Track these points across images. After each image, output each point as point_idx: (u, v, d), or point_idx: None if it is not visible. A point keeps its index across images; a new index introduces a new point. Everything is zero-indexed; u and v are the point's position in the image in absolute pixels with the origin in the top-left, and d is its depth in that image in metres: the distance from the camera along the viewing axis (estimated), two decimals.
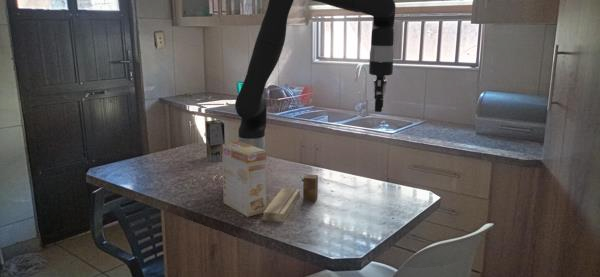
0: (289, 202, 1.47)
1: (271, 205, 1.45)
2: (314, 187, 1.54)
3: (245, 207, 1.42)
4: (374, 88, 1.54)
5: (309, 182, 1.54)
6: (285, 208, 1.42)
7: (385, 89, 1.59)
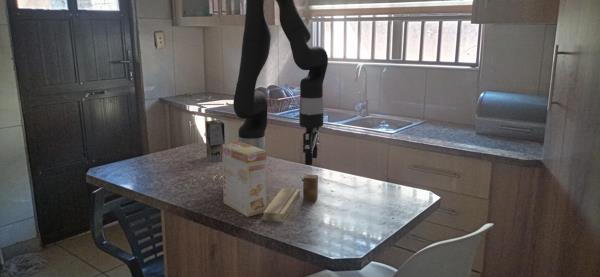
0: (289, 202, 1.47)
1: (271, 205, 1.45)
2: (314, 187, 1.54)
3: (245, 207, 1.42)
4: None
5: (309, 182, 1.54)
6: (285, 208, 1.42)
7: (318, 140, 1.55)
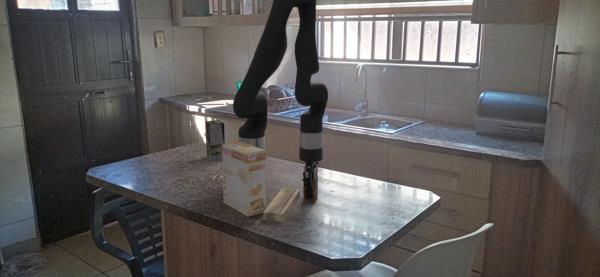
0: (289, 202, 1.47)
1: (271, 205, 1.45)
2: (314, 187, 1.54)
3: (245, 207, 1.42)
4: None
5: None
6: (285, 208, 1.42)
7: (316, 174, 1.56)
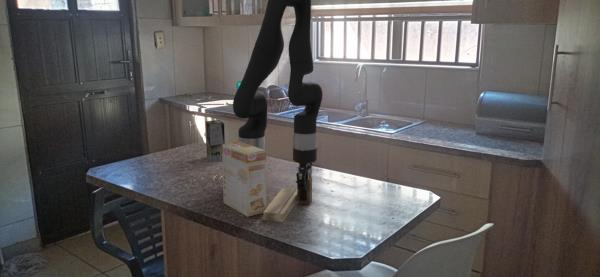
0: (289, 202, 1.47)
1: (271, 205, 1.45)
2: (308, 189, 1.51)
3: (245, 207, 1.42)
4: None
5: None
6: (285, 208, 1.42)
7: (310, 176, 1.54)
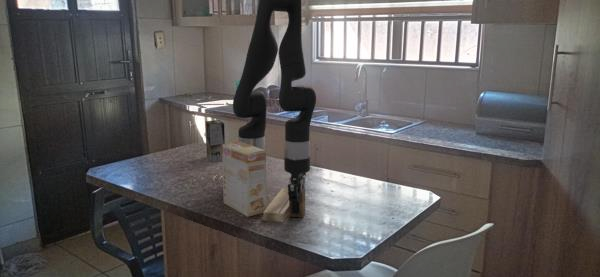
0: None
1: (271, 205, 1.45)
2: (301, 201, 1.40)
3: (245, 207, 1.42)
4: None
5: None
6: (285, 208, 1.42)
7: (303, 187, 1.43)
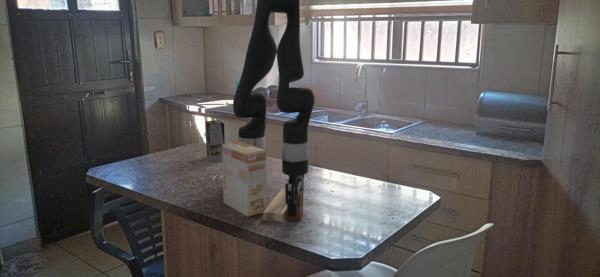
0: None
1: (271, 205, 1.45)
2: (299, 204, 1.39)
3: (245, 207, 1.42)
4: None
5: None
6: (285, 208, 1.42)
7: (302, 187, 1.42)
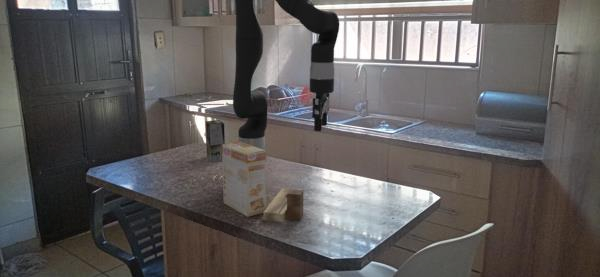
0: None
1: (271, 205, 1.45)
2: (299, 204, 1.39)
3: (245, 207, 1.42)
4: None
5: (293, 198, 1.39)
6: (285, 208, 1.42)
7: (328, 107, 1.53)
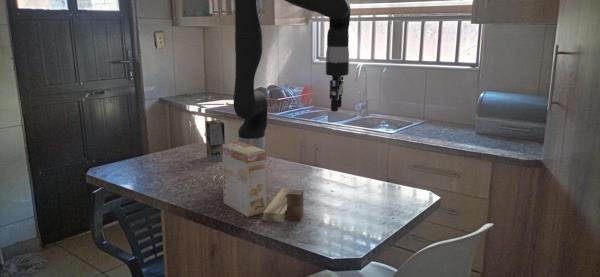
0: None
1: (271, 205, 1.45)
2: (299, 204, 1.39)
3: (245, 207, 1.42)
4: None
5: (293, 198, 1.39)
6: (285, 208, 1.42)
7: (342, 89, 1.63)
